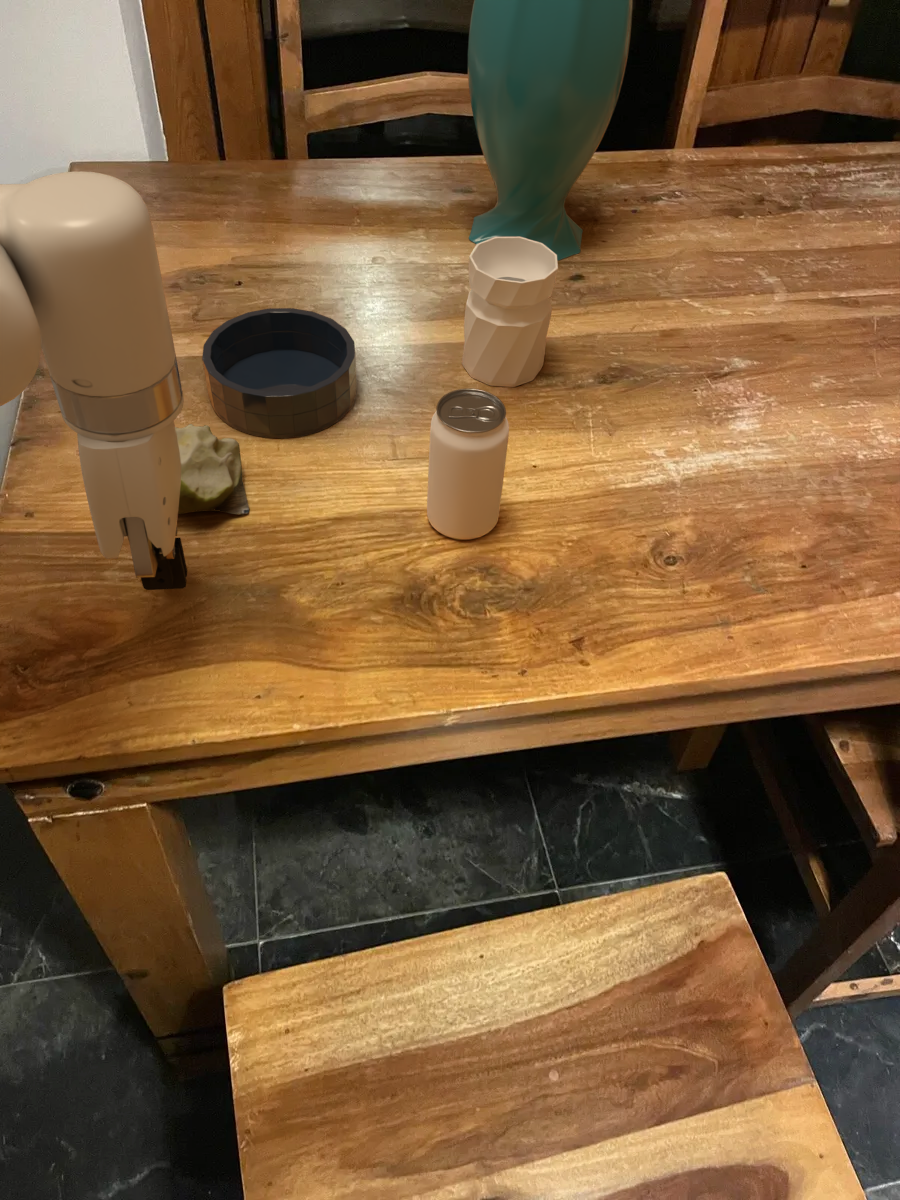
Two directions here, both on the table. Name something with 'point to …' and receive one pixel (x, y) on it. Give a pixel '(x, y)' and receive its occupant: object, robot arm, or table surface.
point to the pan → (280, 372)
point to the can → (466, 463)
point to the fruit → (210, 472)
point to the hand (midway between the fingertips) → (166, 581)
